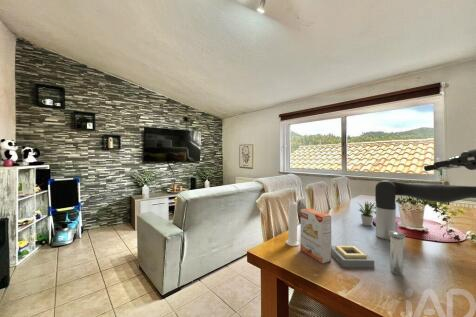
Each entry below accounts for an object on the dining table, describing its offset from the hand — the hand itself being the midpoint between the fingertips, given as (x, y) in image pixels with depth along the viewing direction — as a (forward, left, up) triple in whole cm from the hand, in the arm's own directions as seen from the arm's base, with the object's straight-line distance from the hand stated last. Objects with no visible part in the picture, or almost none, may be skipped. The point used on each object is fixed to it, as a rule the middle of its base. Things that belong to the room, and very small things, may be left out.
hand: (429, 167), depth 79 cm
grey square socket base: (+26, -9, -43) cm, 51 cm away
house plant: (-13, -56, -43) cm, 72 cm away
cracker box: (+41, -12, -43) cm, 61 cm away
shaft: (+13, +1, -43) cm, 45 cm away
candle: (+48, -25, -43) cm, 70 cm away
